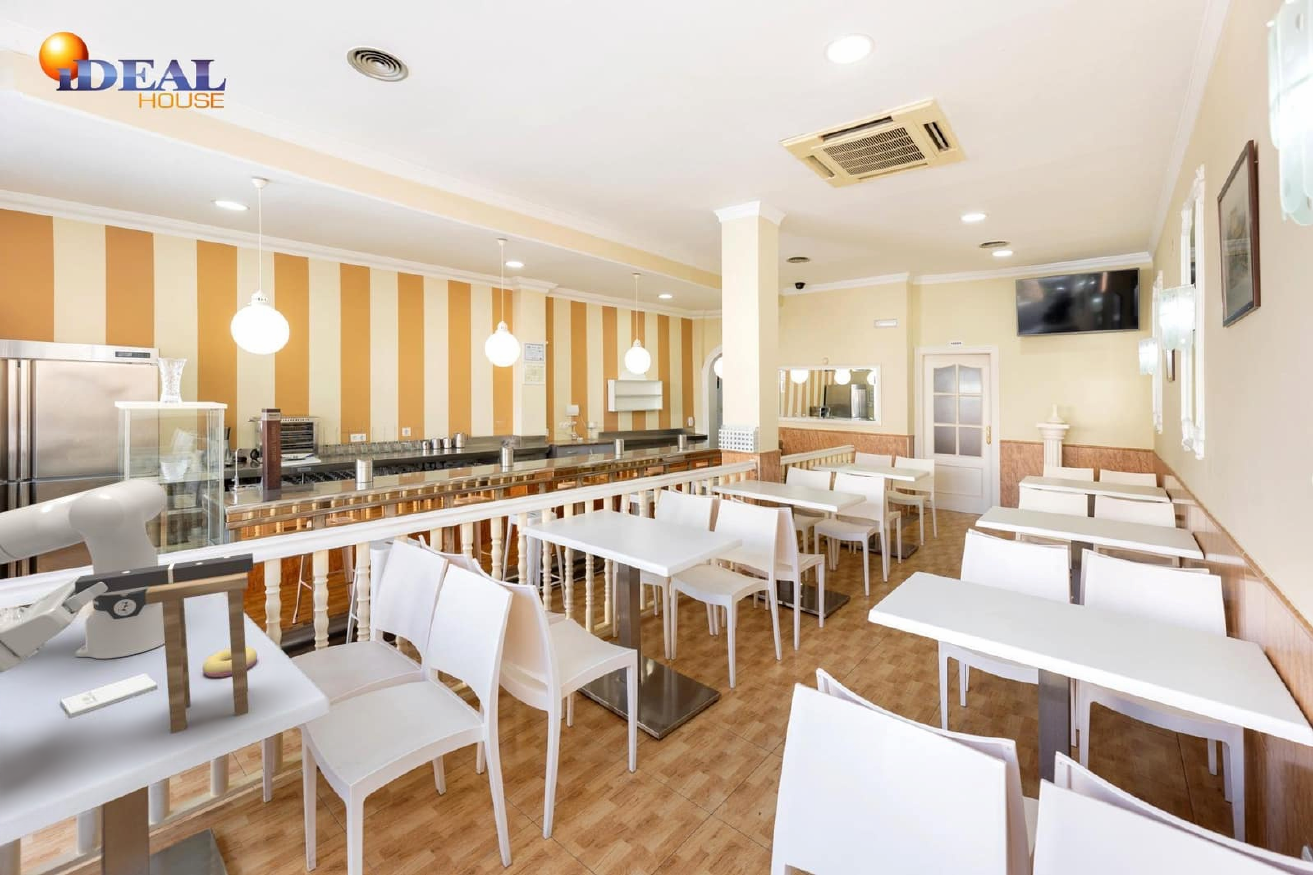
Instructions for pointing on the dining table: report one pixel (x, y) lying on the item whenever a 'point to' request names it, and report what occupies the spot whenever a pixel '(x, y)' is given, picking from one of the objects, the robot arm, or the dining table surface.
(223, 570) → the domino
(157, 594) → the stool
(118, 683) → the external hard drive
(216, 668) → the donut
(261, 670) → the dining table surface
